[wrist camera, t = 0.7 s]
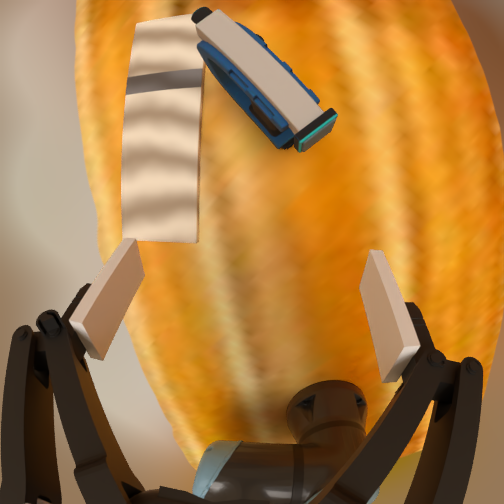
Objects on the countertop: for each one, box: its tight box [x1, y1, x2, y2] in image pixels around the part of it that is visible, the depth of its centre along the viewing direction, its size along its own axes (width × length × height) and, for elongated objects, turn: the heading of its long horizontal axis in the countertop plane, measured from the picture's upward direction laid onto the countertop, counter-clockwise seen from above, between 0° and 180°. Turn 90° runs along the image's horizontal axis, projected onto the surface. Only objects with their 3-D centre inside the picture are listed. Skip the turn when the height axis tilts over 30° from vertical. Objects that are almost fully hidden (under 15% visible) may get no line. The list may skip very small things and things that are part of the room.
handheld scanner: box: [191, 7, 338, 153], centre depth 29 cm, size 5×16×20 cm, turn 40°
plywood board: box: [121, 14, 205, 243], centre depth 39 cm, size 36×12×1 cm, turn 178°
